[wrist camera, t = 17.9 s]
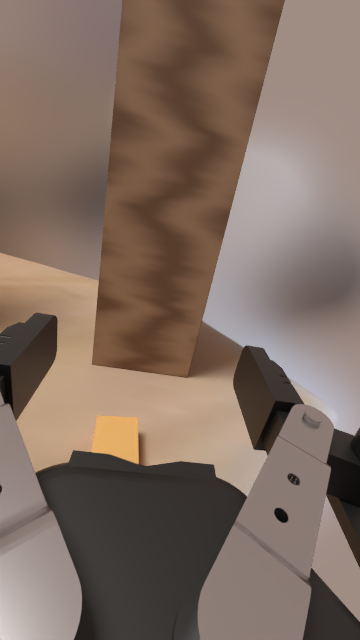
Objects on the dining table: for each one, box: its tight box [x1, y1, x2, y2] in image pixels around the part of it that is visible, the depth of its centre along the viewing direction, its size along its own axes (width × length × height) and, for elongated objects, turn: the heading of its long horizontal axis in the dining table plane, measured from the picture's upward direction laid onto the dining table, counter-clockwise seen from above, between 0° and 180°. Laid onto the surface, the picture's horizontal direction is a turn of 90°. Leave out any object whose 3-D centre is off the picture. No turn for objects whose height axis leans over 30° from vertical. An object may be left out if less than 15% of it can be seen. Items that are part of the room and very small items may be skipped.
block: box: [91, 416, 139, 464], centre depth 15 cm, size 3×14×2 cm, turn 9°
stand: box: [92, 0, 285, 377], centre depth 27 cm, size 10×12×37 cm
